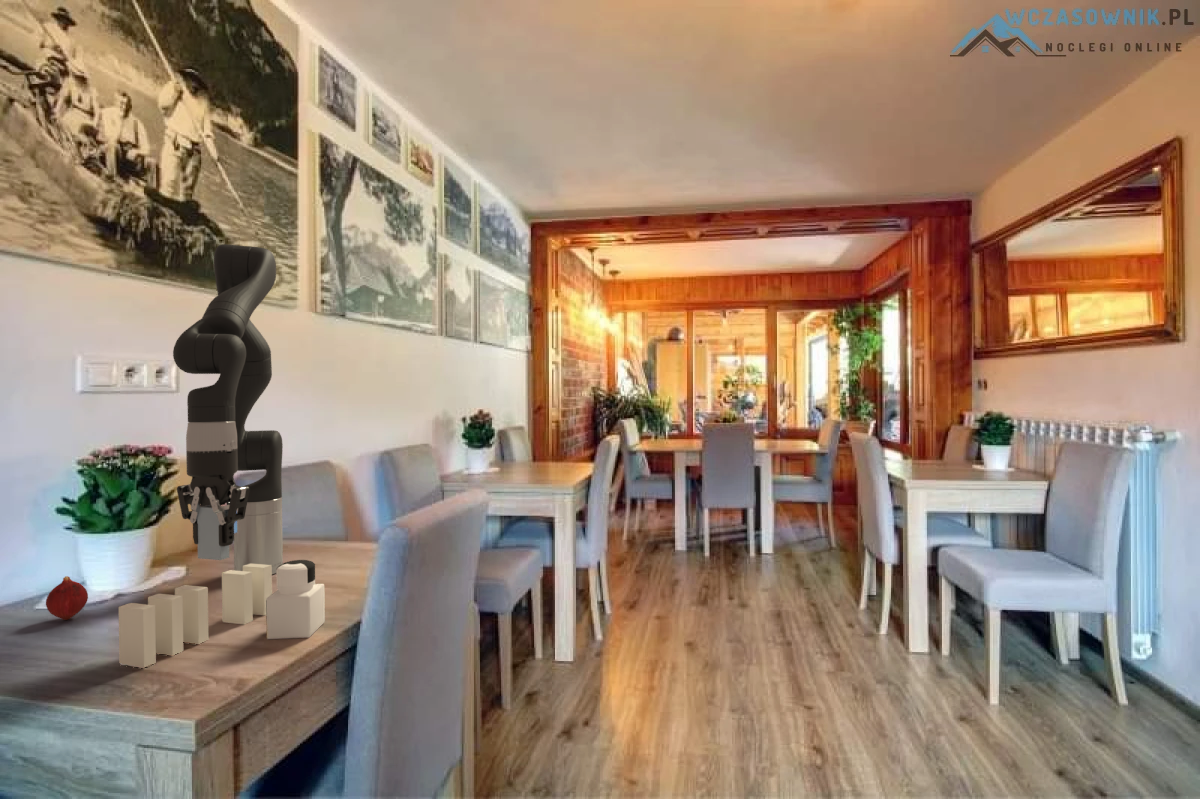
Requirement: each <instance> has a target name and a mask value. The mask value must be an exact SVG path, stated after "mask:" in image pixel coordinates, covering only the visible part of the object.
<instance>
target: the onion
mask: <svg viewBox="0 0 1200 799" xmlns="http://www.w3.org/2000/svg"><path fill="white" fill-rule="evenodd" d="M45 599H46V600H45V606H46V609H47V611H48V613H50V614H51V615H52V616H54V617H57V618H59V619H61V620H64V621H68V620H70V619H72V618H73V617H74V616H76V615H77V614H78V613H79V612H80V611H81V610H83V608H84V607H85V606H86V604H87V603H88V599H89V593H88V590H87V589H86V588H85V586H84V585H83V584H81V583H79V582H77V581H74V580H72V579H71V577H70V576H67V575H66V576H64V577H63V578H62V581H61V582H60V583H59V584H57V585H56V586H54V588H52V589H51V591H50V592H49V593H48V595H47V597H46V598H45Z"/></svg>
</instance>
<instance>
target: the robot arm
mask: <svg viewBox="0 0 1200 799" xmlns="http://www.w3.org/2000/svg"><path fill="white" fill-rule="evenodd" d="M213 254H214V256H213V268H214V269H213V271H214V278H215V286H216V291H217V295H216V296H215V297H214V298H213V299H211V301H210V302H209V304H208V305H207V307H206V310H205V312H204V313H203V315H202V318H200V319H198V320H197V321H196V322H194V323H193V324H191V326H189V327H188V328H187V329H185V330H184V331H183V332H182V333H181V334H180V335H179V337H178V338H177V339H176V342H175V344H174V346H173V351H172V356H173V362H174V363H175V365H176V366H177V367H178V368H179V369H180V371H183V372H184V373H187V374H192V375H211V374H212V375H213V374H214V375H219V377H218V379H217V381H216V382H215V383H213V384H212V385H208V386H203V387H202V386H201V387H199V388H194V389H191V390H190V391H189V392H188V395H187V402H186V404H187V405H186V406H187V427H186V429H187V430H186V436H185V443H186V444H185V445H186V446H185V450H186V452H185V453H186V454H185V455H186V475H187V476H188V477H191V481H190V484H189V483H188V484H183V485H177V487H176V491H177V492H176V493H177V497H178V501H179V508H180V511H181V516H182V519H184V520H189V521H190V523H191V524H192V539H193V543H194V544H195V545H198V524H197V518H198V514H199V511H200V507H203V506H208V505H210V506H212V509H213V512H214V513H216V514H217V517H218V520H219V523H220V525H219V546H228V545H229V546H230V545H232V544H233V570H235V571H243V566H244V565H247V564H250V563H251V564H264V565H272V575H275V574H276V569H277V567H278V566H280V565H281V564H283V563H284V560H283V559H284V557H283V552H284V551H283V545H284V544H283V543H284V542H283V541H284V540H283V493H282V492H283V491H282V467H283V465H282V464H283V446H284V445H283V438H282V434H281V433H280V432H279V431H277V430H269V429H268V430H246V429H245V428H246V427H245V425H246V421H247V418H248V416H249V415H250V412H251V411H252V409H253V408H254V406H255V404H256V403H257V401H258V400H259V399H260V397H261V396H262V395H263V393H264V392H265V391H266V389H267V388H268V385H269V384H270V382H271V380H272V376H273V373H272V370H273V368H272V351H271V347H270V345H269V344H268V341H267V340H266V339H265V336H263V334H261V333H262V332H260V331H259V329H258V328H257V327H256V326H255V325H254V323H253V322H252V320H251V316H252V315H253V313H254V312H255V310H256V309H257V308H258V307H259V305H260V304H261V303H262V302H263V300H264V299H265V298H266V297H267V295H269V293H270V291H272V289H273V287H274V284H275V281H276V277H277V262H276V259H275V256H274V254H273V252H272V251H271V250H269V249H268V248H266V247H265V248H264V247H259V246H249V245H237V244H236V245H235V244H227V243H224V244H219V245H218V246H217V247H216V248H215V250H214V253H213ZM264 470H265V474H264V476H263V477H261V478H260V479H258V480H256V481H254V482H251V483H249V484H245V485H242V486H240V485H237V483H236V481H235V478H234V477H235V476H234V475H235V474H236V473H237V472H241V471H242V472H243V471H244V472H245V471H246V472H247V471H248V472H249V471H264ZM189 505H190V508H189ZM225 510H228V516H227V517H226V516H225V513H224V511H225ZM235 523H236V532H235Z"/></svg>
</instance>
